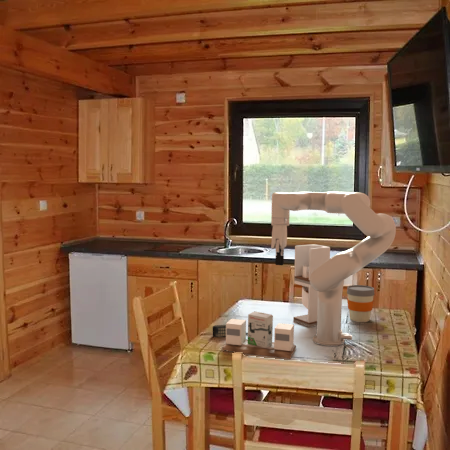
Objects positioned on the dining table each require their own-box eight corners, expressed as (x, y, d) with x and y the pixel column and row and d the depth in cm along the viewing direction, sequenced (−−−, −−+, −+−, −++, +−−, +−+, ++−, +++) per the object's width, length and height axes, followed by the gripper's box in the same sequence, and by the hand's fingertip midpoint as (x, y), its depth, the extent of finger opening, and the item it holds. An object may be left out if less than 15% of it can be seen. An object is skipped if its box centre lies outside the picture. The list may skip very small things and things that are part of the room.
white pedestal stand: (312, 317, 246) (313, 244, 243) (327, 323, 238) (330, 247, 234) (293, 321, 240) (295, 245, 237) (308, 327, 231) (310, 248, 228)
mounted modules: (293, 345, 200) (293, 324, 200) (289, 351, 194) (290, 330, 193) (231, 338, 208) (231, 318, 207) (225, 343, 201) (225, 323, 200)
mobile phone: (212, 326, 215) (248, 324, 217) (211, 324, 218) (247, 322, 220) (213, 338, 216) (248, 336, 218) (212, 336, 219) (247, 334, 221)
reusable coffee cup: (340, 318, 246) (341, 287, 245) (357, 314, 254) (358, 283, 252) (361, 324, 236) (363, 291, 235) (379, 320, 244) (380, 288, 242)
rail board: (295, 348, 203) (295, 343, 203) (290, 358, 192) (290, 353, 191) (231, 341, 211) (231, 336, 211) (222, 350, 199) (222, 345, 199)
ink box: (246, 343, 201) (247, 313, 200) (253, 340, 206) (253, 310, 204) (266, 348, 197) (267, 317, 195) (272, 344, 201) (273, 314, 200)
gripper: (275, 219, 228) (274, 261, 230) (267, 222, 214) (266, 267, 215) (292, 220, 226) (291, 262, 227) (285, 223, 211) (284, 268, 213)
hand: (279, 264), depth 221 cm, fingers closed
